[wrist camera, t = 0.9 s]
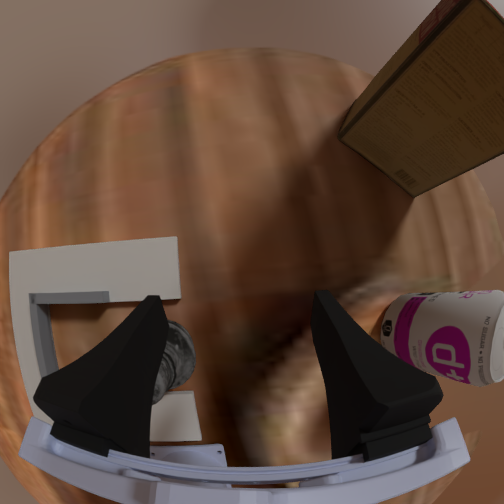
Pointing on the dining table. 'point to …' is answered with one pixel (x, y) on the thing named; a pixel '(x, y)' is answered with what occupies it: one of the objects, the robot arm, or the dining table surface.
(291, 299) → the dining table surface
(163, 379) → the black chess piece
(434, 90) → the food packaging
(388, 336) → the supplement can
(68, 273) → the board
